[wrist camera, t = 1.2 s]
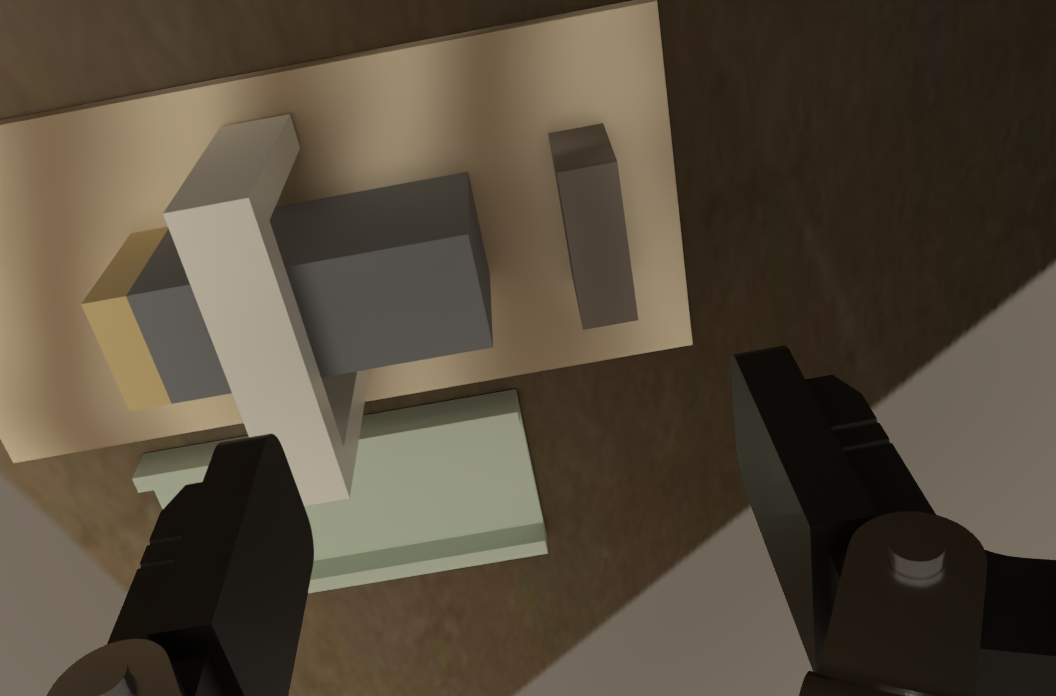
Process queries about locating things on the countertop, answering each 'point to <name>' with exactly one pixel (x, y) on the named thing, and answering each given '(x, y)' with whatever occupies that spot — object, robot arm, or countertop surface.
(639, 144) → the flat beige board
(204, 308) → the strap
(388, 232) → the long gray brick
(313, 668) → the countertop surface
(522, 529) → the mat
